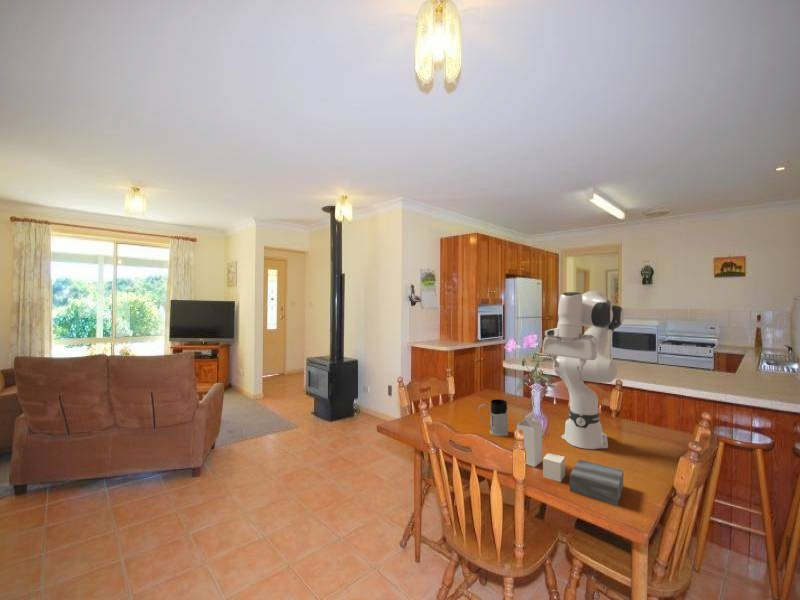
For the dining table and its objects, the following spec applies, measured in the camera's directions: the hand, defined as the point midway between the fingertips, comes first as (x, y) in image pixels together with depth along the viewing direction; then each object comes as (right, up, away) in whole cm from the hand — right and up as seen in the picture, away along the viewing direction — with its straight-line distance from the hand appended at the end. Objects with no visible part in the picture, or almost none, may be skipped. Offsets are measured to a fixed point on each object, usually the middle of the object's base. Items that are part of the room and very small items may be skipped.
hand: (567, 369), depth 139 cm
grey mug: (-20, -38, +34) cm, 55 cm away
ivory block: (-8, -38, -7) cm, 40 cm away
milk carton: (-13, -38, +5) cm, 41 cm away
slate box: (+3, -39, -16) cm, 42 cm away
